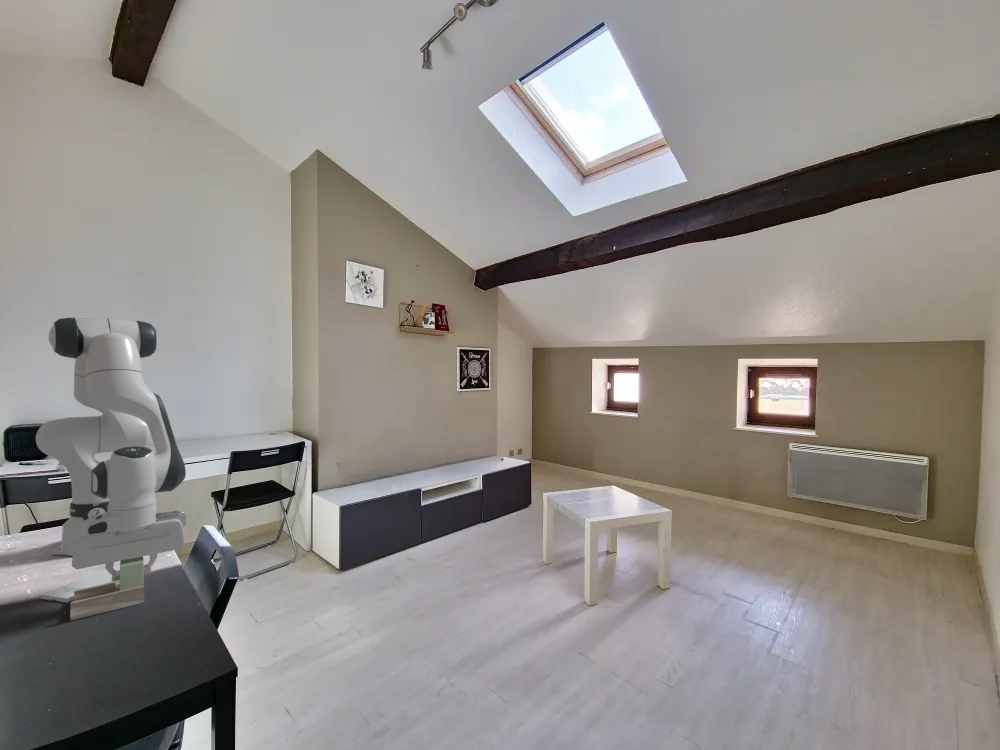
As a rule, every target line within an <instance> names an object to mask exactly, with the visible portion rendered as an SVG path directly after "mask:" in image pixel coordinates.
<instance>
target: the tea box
mask: <svg viewBox="0 0 1000 750" xmlns="http://www.w3.org/2000/svg"><path fill="white" fill-rule="evenodd" d="M144 562H145V561H144V556H142V557H137V558H132V559H127V560H122V561H119V570H120V580H119V581H120V591H121V590H126V589H130V588H134V587H139V586H143V579H144V575H145V574H144V565H145V564H144ZM143 574H144V575H143Z"/></svg>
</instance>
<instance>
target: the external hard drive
mask: <svg viewBox="0 0 1000 750" xmlns="http://www.w3.org/2000/svg"><path fill="white" fill-rule="evenodd" d="M117 581H120V580H117ZM111 582H115V581H112V574H110V573H109V572H108V571H104V570H103V571H101V570H99V571H97V572H95V573H92V574H90V575H87V576H85V577H82V578H80V579H78V580H75V581H72V582H70V583H67V584H65V585H63V586H59V587H57V588H55V589H52V590H50V591H48V592H45V593H43V594H39V599H40V600H41V599H42V600H47V601H56V602H60V603H61V602H62V603H71V602H73V600H74V591H76V590H79V589H84V588H88V587H93V586H97V585H102V584H106V583H111Z"/></svg>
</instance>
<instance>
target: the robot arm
mask: <svg viewBox="0 0 1000 750" xmlns="http://www.w3.org/2000/svg"><path fill="white" fill-rule="evenodd" d="M52 324H53V325H52V326H51V328H50V329H49V332H48V341H49V344H50V346H51V348H52V349H53V352H54V353H55V354H57V355H58V356H61V357H64V358H69V359H70V358H71V359H74V360H75V361H74V373H73V375H74V376H73V397H74V399H75V400H76V401H77V402H78V403H80V404H81V405H83V406H84V407H87V408H90V409H93V410H97V412H98V411H99V412H100V413H102V415H97V416H95V415H94V416H75V417H72V416H71V417H63V418H59V419H53V420H52V419H51V420H48V421H46V422H44V423H43V424H41V426H40V427H39V428H38V430H37V432H36V434H35V443H36V446H37V448H38V449H39V450H40V452H42V453H43V454H44V455H47V456H49V457H51V458H53V459H55V460H56V461H58V462H59V463H61V465H62V466H63V467H64V468H65V469H66V471H67V472H68V474H69V475H68V476H69V477H70V482H71V483H70V484H71V502H70V504H69V509H68V510H69V516H70V517H69V518H68V519H67V520H66V521H65V522H64V523H63V524H62V527H61V544H59V545H58V546H57V547H56V548H55V549H53V550H52V553H51V554H52V556H70V557H72V558H71V567H73V568H74V569H75V570H82V569H86V568H90V567H96V566H97V567H98V566H101V565H104V566H105V570H106V572H109V573H110V574H112V581H117V580H119V581H120V569H119V570H116V569H115V568H114V567H115V566H114V564H115V563H117V562H120V561H122V560H127V559H132V558H137V557H142V556H143V557H147V556H148V557H149V561H148V563H146V564H144V574H143V576H144V575H148V574H152V566H153V565H154V564H155V562H156V560H157V559H158V554H162V553H167V552H173V551H177V550H181V549H182V548H184V546H185V545H186V536H185V530H184V527H186V525H187V519H188V517H187V514H186V513H185V512H183V511H180V510H174V511H170V512H169V511H167V512H159V513H157V498H156V497H157V496H156V494H155V493H165V492H167V493H168V492H172V491H173V490H175V489H176V488H177V487H179V486H180V485H181V484H182V482H184V480H185V478H186V474H187V473H186V471H187V470H186V465H185V461H184V459H183V457H182V455H181V452H180V450H179V447H178V446H177V445H178V444H177V441H176V438H175V435H174V432H173V429H172V425H171V422H170V419H169V416H168V412H167V410H166V407H165V404H164V401H163V400H162V399H161V396H160V395H159V394H156V393H155V392H153V391H152V390H151V389H150V388H149V387H148V385H147V384H146V382H145V379H144V372H143V365H142V358H147V357H151V356H152V355H153V354H155V353H156V350H157V347H158V345H159V336H158V332H157V330H156V328H155V327H154V326H153V325H152V324H151V323H149V322H146V321H140V320H136V321H135V320H129V319H122V318H111V317H107V318H102V317H101V318H97V317H96V318H95V317H94V318H91V317H88V318H87V317H86V318H84V317H83V318H75V317H72V316H71V317H64V318H58V319H57V320H55V321H54V322H53V323H52ZM151 440H152V443H153V447H154V450H155V453H154V451H153V450H152V448H149V447H146V446H147V445H148V444H149V443H150V442H151ZM102 453H103V454H104V453H111V455H110V458H109V459H106V460H102V461H98V460H97V459H96V458H95V455H97V454H102Z"/></svg>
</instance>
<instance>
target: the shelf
mask: <svg viewBox="0 0 1000 750" xmlns="http://www.w3.org/2000/svg"><path fill="white" fill-rule="evenodd" d="M144 579H145V578H143V586H139V587H134V588H130V589H126V590H121V591H120V580H119V581H115V582H111V583H106V584H102V585H97V586H93V587H88V588H84V589H79V590H76V591H74V600H72V601H70V613H69V615H70V617H69V619H70V620H69V621H70V622H72V621H75V620H79V619H84V618H87V617H92V616H95V615H100V614H103V613H108V612H112V611H115V610H120V609H123V608H128V607H131V606H135V605H139V604H143V603H145V582H144Z"/></svg>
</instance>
